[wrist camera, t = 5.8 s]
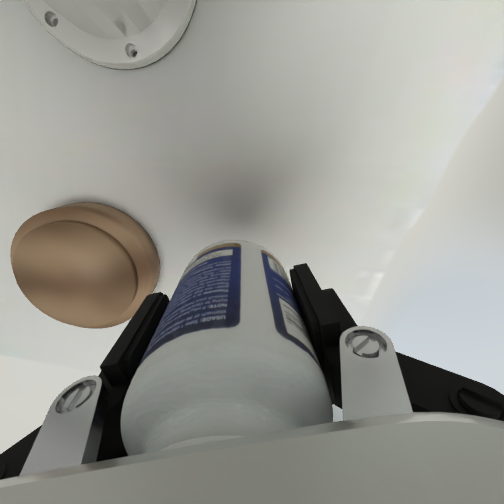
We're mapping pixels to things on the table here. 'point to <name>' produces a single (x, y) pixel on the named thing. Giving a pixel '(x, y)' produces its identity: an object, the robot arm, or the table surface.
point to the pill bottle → (226, 357)
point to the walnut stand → (85, 264)
